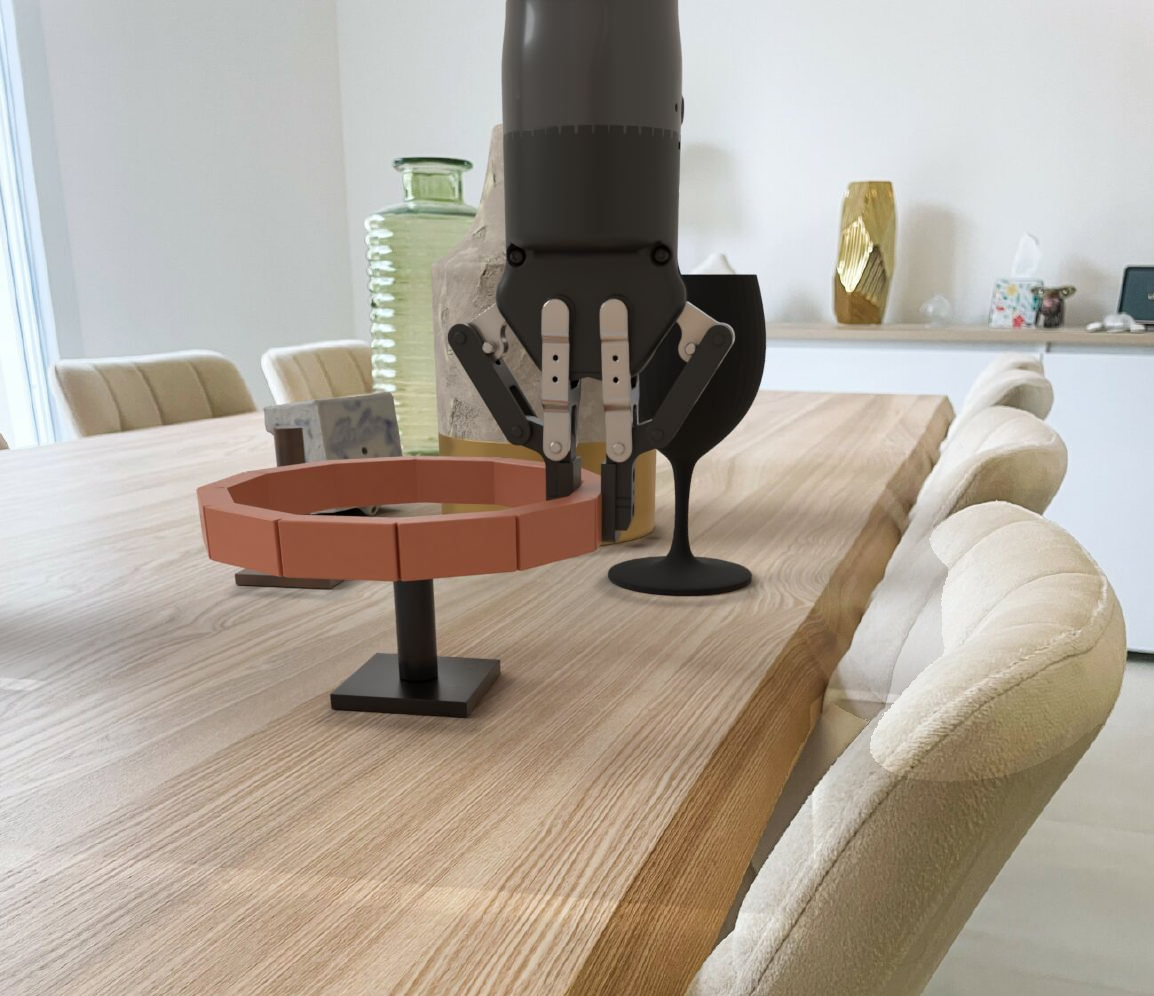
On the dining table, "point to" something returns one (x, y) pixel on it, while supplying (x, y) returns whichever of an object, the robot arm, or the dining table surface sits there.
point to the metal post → (416, 667)
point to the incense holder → (342, 429)
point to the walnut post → (293, 453)
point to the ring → (397, 519)
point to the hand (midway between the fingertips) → (591, 537)
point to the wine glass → (701, 429)
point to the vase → (506, 360)
